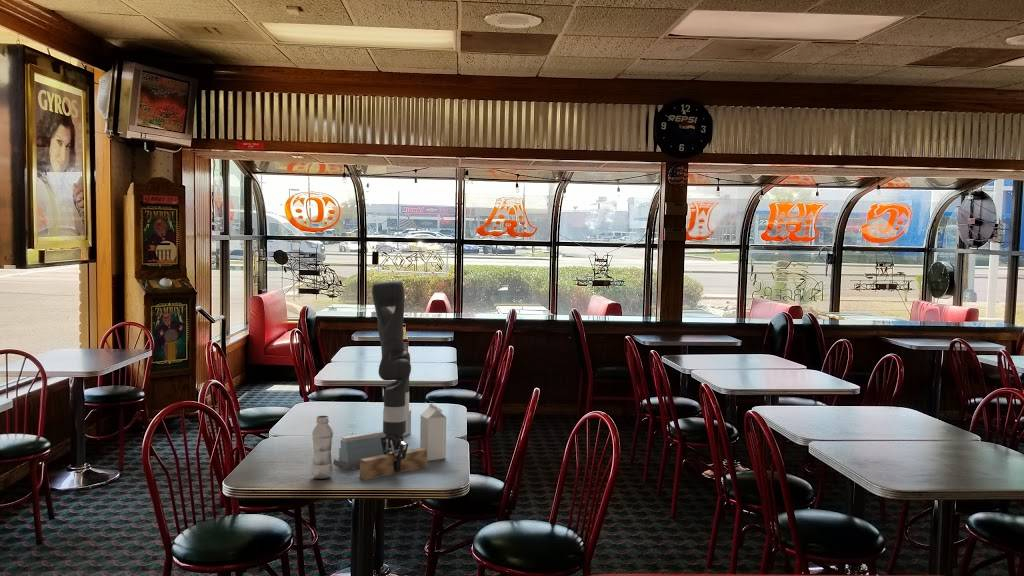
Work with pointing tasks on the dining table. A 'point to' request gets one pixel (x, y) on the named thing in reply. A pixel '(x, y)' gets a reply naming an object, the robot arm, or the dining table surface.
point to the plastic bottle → (322, 449)
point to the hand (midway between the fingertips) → (394, 469)
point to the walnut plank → (392, 463)
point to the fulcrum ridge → (359, 448)
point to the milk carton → (433, 433)
